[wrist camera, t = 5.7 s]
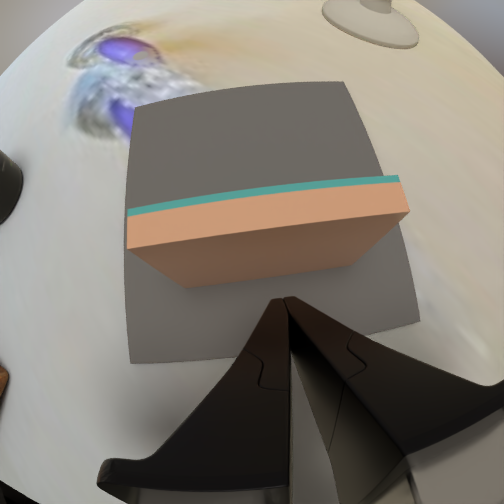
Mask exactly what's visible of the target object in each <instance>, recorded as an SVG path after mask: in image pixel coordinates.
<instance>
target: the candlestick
mask: <svg viewBox="0 0 504 504" xmlns="http://www.w3.org/2000/svg"><path fill="white" fill-rule="evenodd" d="M391 1H392V0H328V1H326V2H325V3H324V4H323V7H322V14H323V16H324V17H325V19H326V20H327V21H328V22H330V23H331V24H332V25H334V26H335V27H337V28H338V29H340V30H342V31H344V32H346V33H348V34H350V35H352V36H354V37H357V38H359V39H362V40H364V41H367V42H370V43H373V44H377V45H381V46H385V47H390V48H397V49H408V48H412V47H414V46H416V45H417V43H418V41H419V34H418V31H417V30H416V28H415V27H414V25H413V24H412V23H411V22H410V20H409V19H407V18H406V17H405V16H404V15H403V14H401V13H400V12H399V11H397V10H395V9H394V8H392V7H391Z"/></svg>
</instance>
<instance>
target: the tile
mask: <svg viewBox="0 0 504 504" xmlns="http://www.w3.org/2000/svg"><path fill="white" fill-rule="evenodd" d="M409 212H410V209H409V206H408V203H407V200H406V197H405V194H404V191H403V188H402V185H401V183H400V180H399V177H398V175H392V176H375V177H361V178H347V179H335V180H324V181H314V182H304V183H295V184H286V185H277V186H269V187H261V188H253V189H245V190H238V191H231V192H224V193H217V194H211V195H204V196H198V197H192V198H186V199H180V200H174V201H169V202H163V203H158V204H152V205H147V206H142V207H136V208H131V209H128V215H127V249H128V250H129V251H130V252H132V253H133V254H135V255H136V256H138V257H139V258H140V259H142V260H143V261H145V262H146V263H148V264H149V265H151V266H152V267H154V268H155V269H156V270H158V271H159V272H161V273H162V274H164V275H165V276H167V277H168V278H170V279H171V280H173V281H174V282H176V283H177V284H179V285H180V286H182V287H184V288H192V287H200V286H208V285H216V284H224V283H232V282H239V281H247V280H254V279H261V278H269V277H276V276H283V275H290V274H297V273H303V272H310V271H317V270H323V269H330V268H336V267H343V266H349V265H352V264H353V263H355V262H356V261H357V260H358V259H359V258H360V257H361V256H363V255H364V254H365V253H366V252H367V251H368V250H369V249H370V248H371V247H373V246H374V245H375V244H376V243H377V242H378V241H379V240H380V239H381V238H382V237H384V236H385V235H386V234H387V233H388V232H389V231H390V230H391V229H392V228H393V227H394V226H395V225H396V224H397V223H399V222H400V221H401V220H402V219H403V218H404V217H405V216H406V215H407V214H408V213H409Z"/></svg>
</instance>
